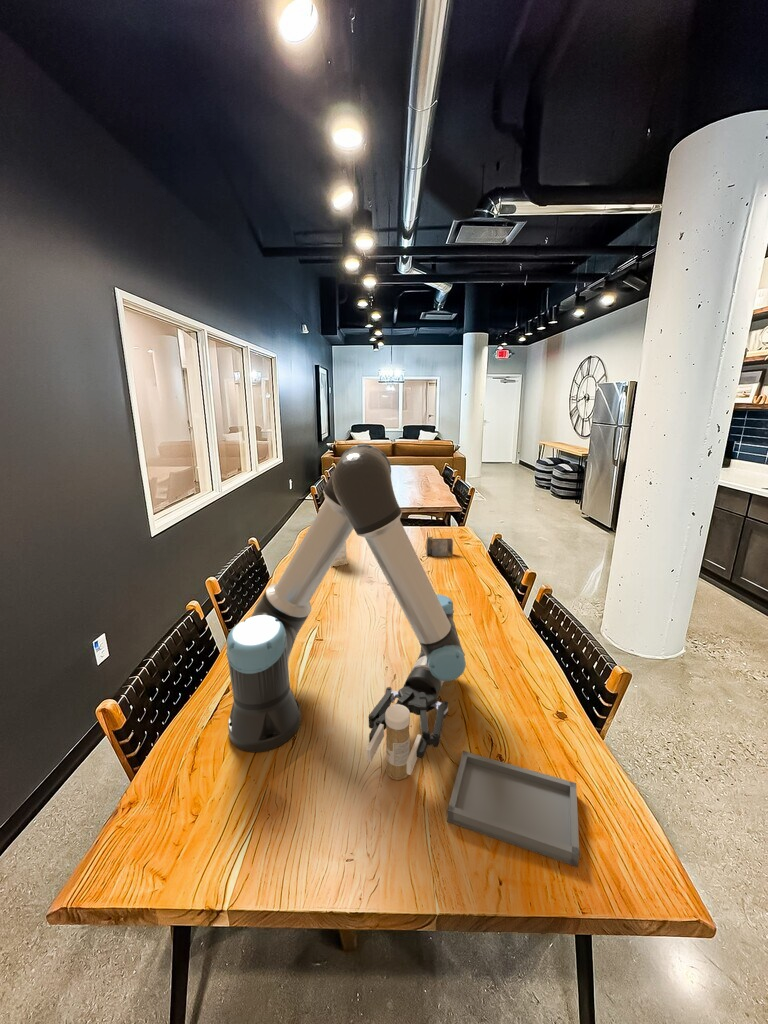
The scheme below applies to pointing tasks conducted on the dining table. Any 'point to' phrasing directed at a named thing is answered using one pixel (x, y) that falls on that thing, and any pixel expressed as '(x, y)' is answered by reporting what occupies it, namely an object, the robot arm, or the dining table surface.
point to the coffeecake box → (341, 557)
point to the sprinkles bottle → (397, 740)
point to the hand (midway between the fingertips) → (388, 761)
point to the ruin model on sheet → (439, 546)
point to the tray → (516, 807)
